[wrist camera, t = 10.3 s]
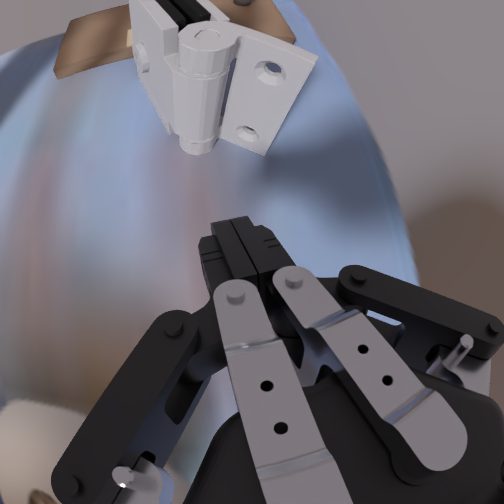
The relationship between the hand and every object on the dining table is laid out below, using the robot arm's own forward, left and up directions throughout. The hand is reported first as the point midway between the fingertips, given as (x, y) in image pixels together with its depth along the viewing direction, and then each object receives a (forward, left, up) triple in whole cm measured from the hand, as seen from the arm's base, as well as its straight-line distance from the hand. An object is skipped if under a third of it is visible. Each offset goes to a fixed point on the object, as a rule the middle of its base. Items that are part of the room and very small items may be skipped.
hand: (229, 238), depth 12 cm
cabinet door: (0, +25, -7) cm, 26 cm away
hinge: (+1, +12, -7) cm, 14 cm away
